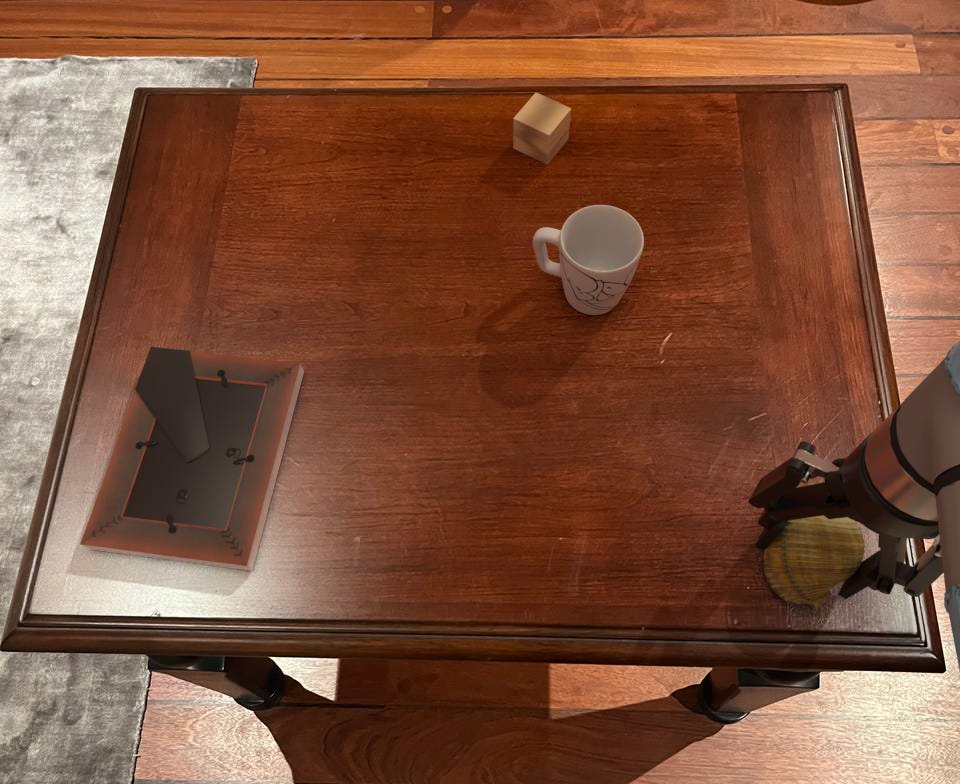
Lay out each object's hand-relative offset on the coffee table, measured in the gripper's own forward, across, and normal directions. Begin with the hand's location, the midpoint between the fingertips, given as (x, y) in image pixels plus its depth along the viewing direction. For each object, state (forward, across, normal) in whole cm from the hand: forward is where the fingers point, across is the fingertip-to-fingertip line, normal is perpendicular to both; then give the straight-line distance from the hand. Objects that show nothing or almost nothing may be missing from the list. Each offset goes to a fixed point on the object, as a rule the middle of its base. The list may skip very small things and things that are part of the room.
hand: (805, 560), depth 73 cm
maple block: (+1, +48, -31) cm, 57 cm away
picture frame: (+2, +55, +23) cm, 60 cm away
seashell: (0, 0, 0) cm, 1 cm away
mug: (+1, +33, -15) cm, 37 cm away
